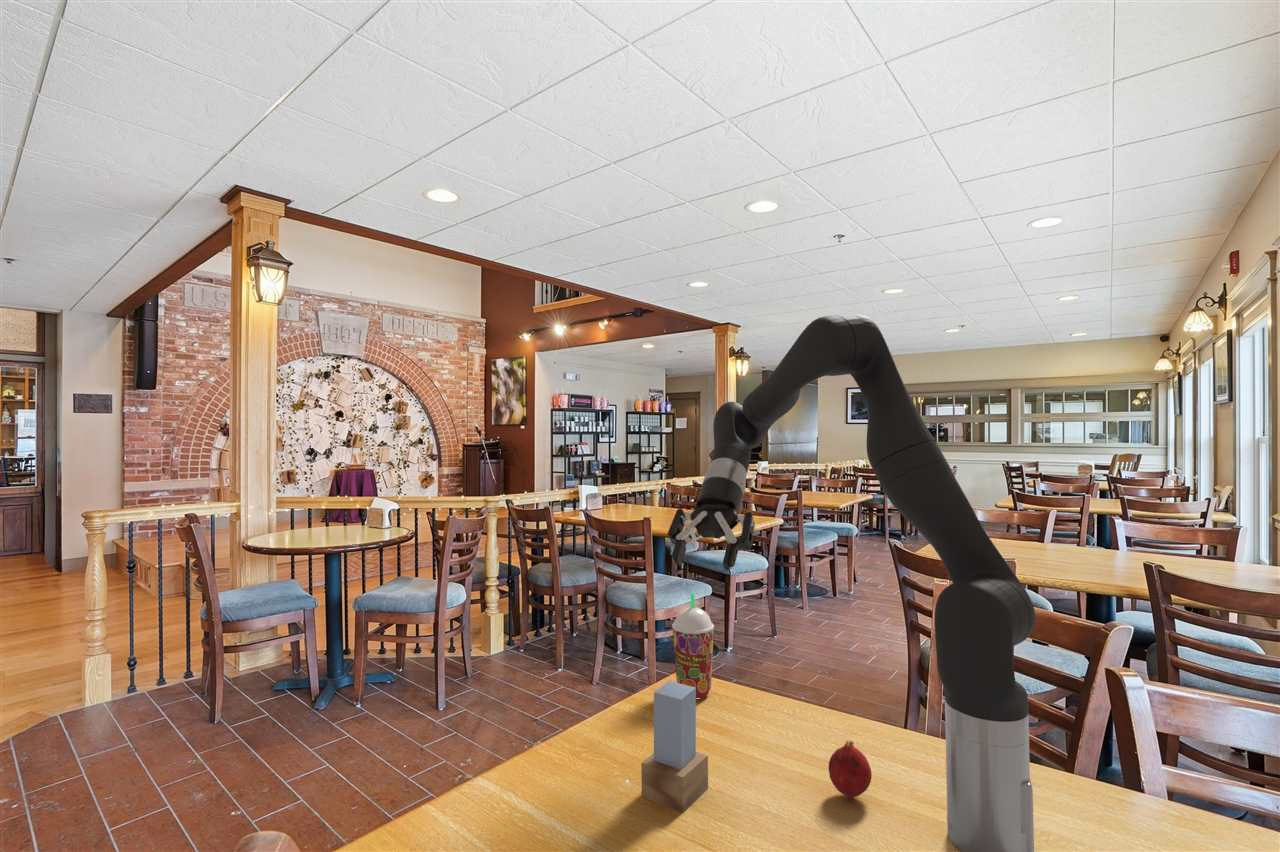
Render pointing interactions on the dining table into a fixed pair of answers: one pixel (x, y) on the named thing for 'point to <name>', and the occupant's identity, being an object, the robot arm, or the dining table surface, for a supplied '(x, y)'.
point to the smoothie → (693, 648)
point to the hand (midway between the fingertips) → (701, 565)
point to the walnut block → (675, 782)
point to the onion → (849, 770)
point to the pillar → (674, 724)
